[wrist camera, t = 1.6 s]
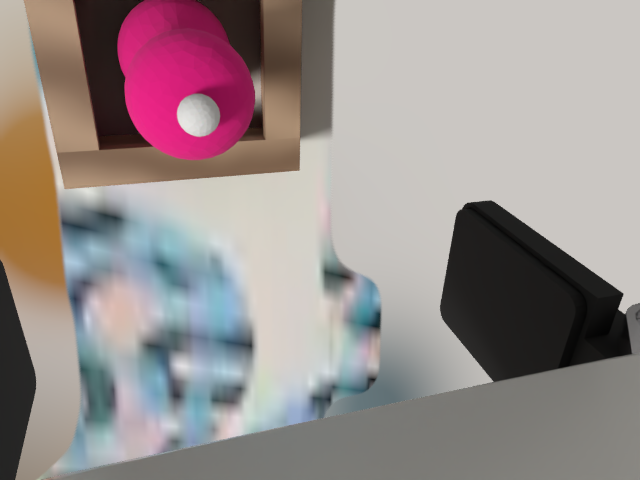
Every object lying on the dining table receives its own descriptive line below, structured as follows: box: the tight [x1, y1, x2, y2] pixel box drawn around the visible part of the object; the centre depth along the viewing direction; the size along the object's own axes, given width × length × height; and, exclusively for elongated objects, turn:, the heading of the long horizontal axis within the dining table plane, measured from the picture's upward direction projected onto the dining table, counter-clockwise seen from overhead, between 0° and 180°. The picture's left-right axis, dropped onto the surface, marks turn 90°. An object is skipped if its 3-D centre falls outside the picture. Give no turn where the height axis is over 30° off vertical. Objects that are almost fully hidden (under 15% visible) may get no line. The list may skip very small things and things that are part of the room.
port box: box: [24, 0, 302, 189], centre depth 35 cm, size 16×16×6 cm
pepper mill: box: [117, 0, 255, 160], centre depth 30 cm, size 7×7×20 cm
